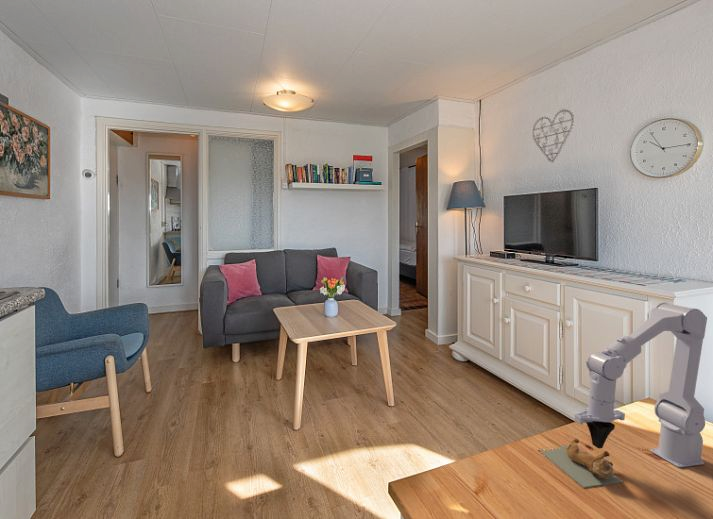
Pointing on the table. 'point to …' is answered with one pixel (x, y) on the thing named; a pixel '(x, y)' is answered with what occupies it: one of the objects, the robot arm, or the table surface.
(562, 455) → the mat
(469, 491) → the table surface
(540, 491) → the table surface
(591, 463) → the lion figurine
